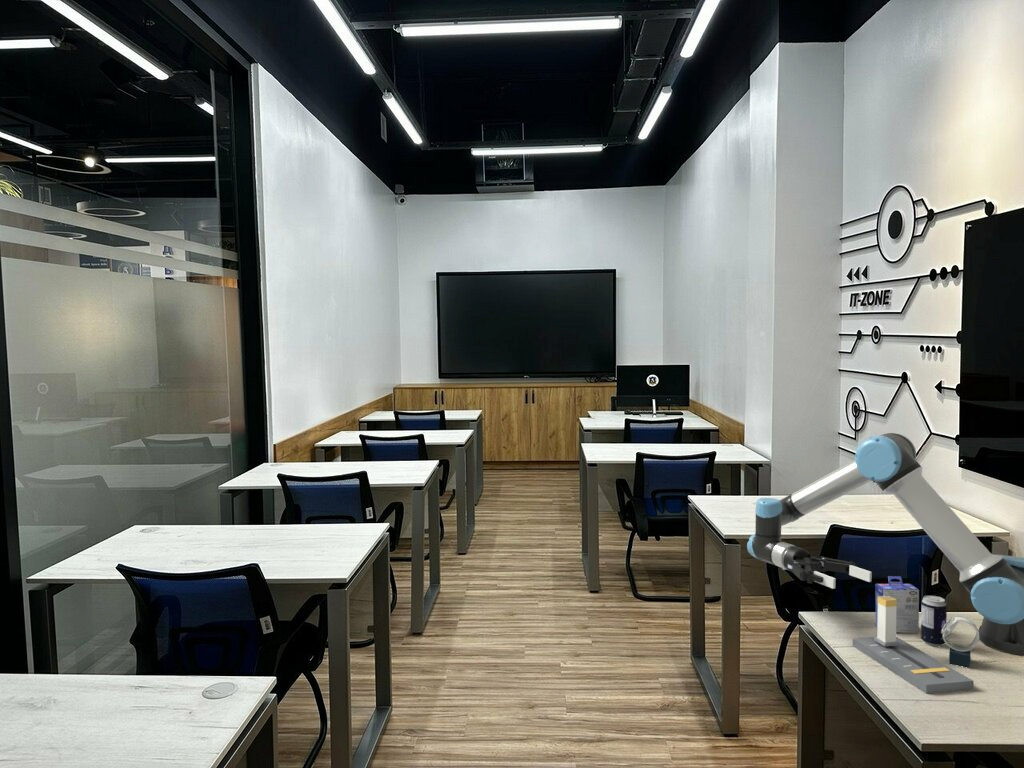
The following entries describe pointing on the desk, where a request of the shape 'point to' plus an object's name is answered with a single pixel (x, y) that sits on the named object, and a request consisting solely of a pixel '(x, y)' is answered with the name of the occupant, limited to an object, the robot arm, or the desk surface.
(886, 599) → the fader handle
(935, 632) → the beverage can
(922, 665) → the fader console
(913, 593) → the ink cartridge box
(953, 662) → the watch
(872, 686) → the desk surface
